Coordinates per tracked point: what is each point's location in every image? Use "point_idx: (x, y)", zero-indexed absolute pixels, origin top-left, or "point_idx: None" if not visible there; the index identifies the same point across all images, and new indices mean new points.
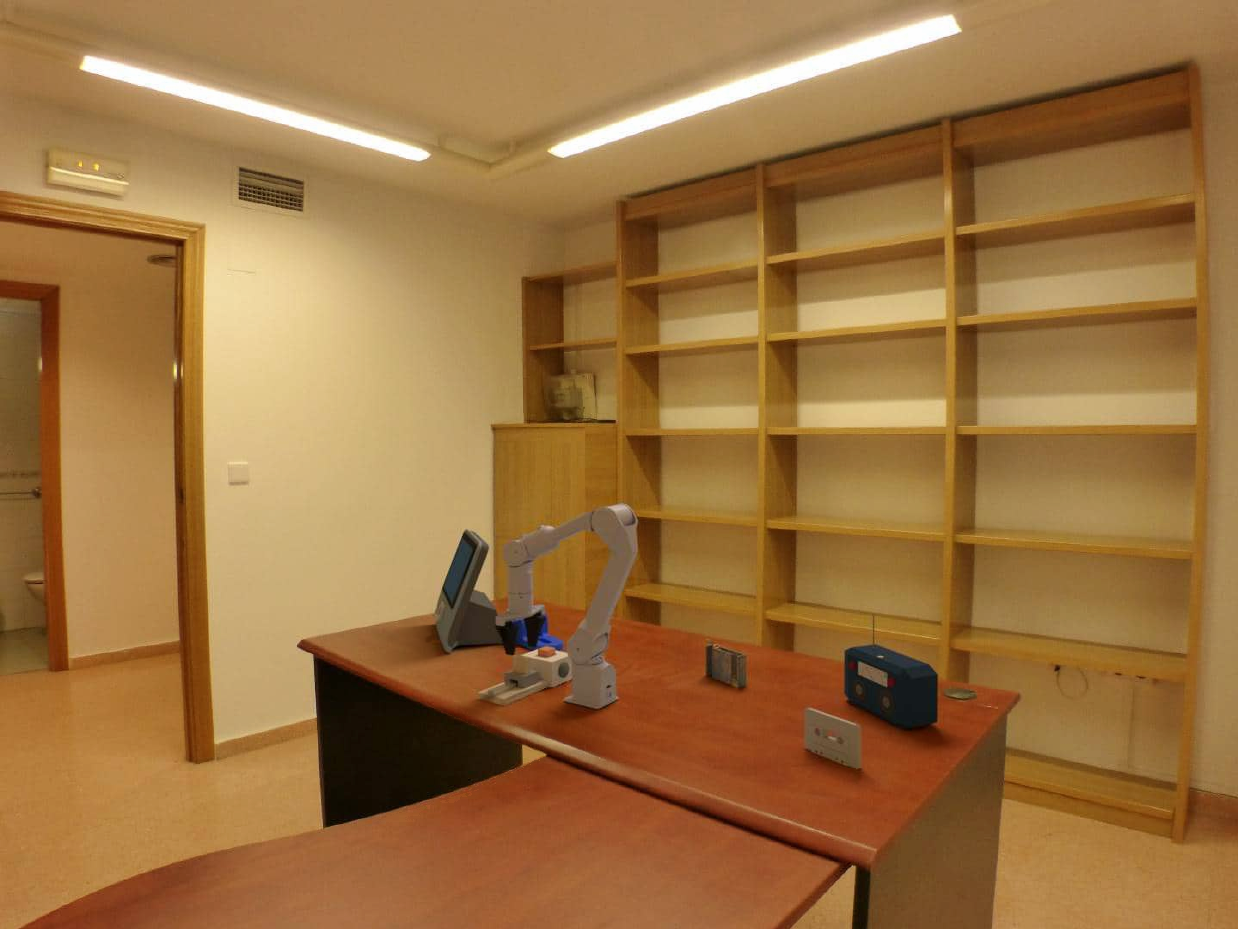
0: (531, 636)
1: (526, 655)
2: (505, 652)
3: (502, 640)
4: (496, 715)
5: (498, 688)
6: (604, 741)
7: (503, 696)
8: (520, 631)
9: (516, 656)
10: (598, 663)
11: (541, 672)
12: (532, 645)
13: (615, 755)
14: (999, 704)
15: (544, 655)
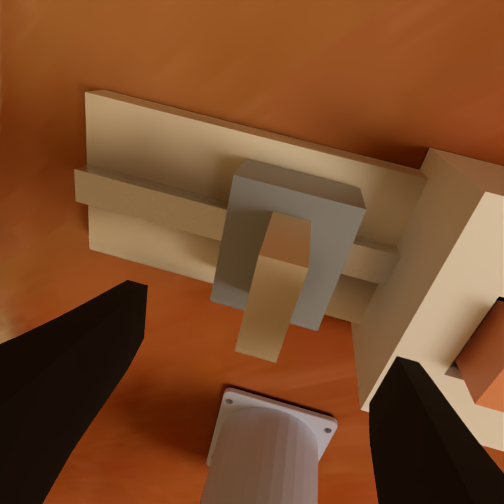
0: (407, 467)
1: (491, 240)
2: (114, 287)
3: (17, 343)
4: (27, 249)
5: (119, 201)
6: (70, 481)
7: (107, 233)
8: None
9: (260, 284)
10: None
11: (379, 309)
12: (379, 400)
13: None
14: None
15: (475, 359)
